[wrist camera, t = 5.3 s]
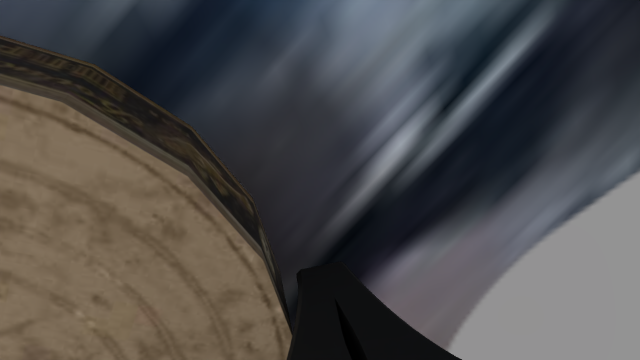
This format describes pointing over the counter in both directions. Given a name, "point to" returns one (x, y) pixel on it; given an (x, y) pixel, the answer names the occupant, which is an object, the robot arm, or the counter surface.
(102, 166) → the wood slice coaster
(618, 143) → the counter surface
